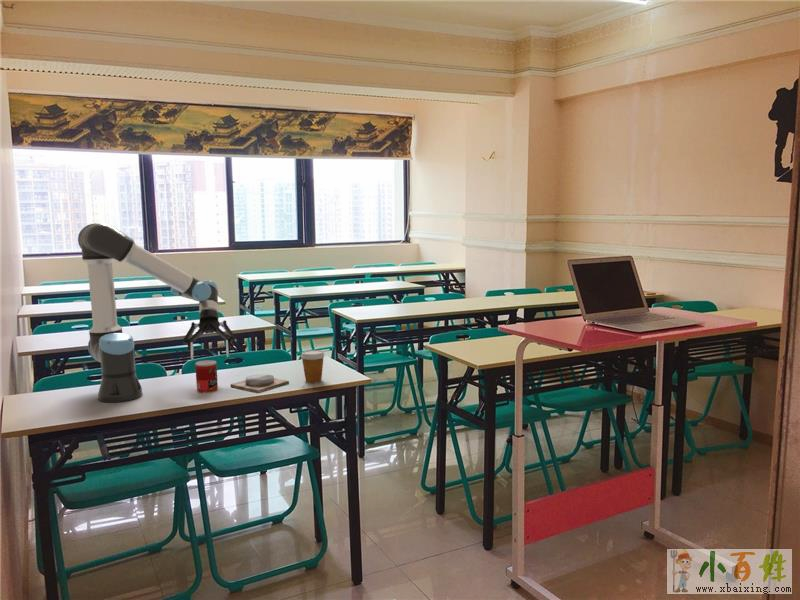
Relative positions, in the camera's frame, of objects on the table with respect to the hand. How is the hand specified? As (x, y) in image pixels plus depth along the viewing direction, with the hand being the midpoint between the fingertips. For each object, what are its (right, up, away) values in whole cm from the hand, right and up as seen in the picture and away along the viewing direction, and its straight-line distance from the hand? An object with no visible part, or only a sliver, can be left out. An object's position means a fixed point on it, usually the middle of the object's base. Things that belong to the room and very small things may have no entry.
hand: (209, 356), depth 249 cm
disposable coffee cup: (+41, -11, +5) cm, 42 cm away
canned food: (+1, -13, -6) cm, 14 cm away
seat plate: (+20, -11, 0) cm, 23 cm away
